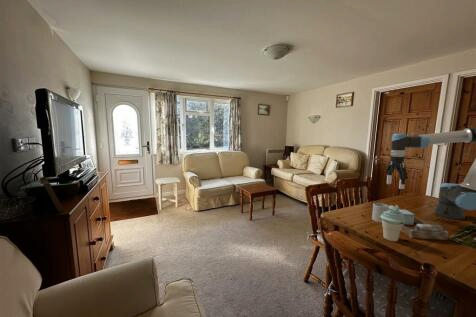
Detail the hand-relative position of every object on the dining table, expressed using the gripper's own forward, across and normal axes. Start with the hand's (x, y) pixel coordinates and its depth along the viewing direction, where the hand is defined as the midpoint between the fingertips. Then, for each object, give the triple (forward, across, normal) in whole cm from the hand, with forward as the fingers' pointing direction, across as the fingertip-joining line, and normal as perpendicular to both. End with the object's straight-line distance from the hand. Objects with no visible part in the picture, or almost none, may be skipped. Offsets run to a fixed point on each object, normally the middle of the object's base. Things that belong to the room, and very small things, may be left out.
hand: (395, 186), depth 140 cm
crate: (+22, +10, 0) cm, 24 cm away
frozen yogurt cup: (+21, +34, -22) cm, 46 cm away
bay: (+21, +22, 0) cm, 30 cm away
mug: (+22, +9, -13) cm, 26 cm away
